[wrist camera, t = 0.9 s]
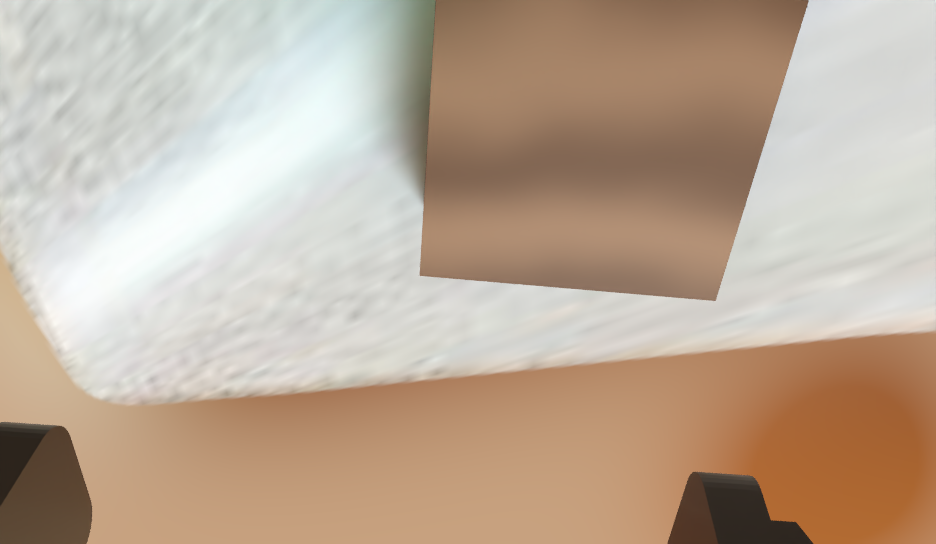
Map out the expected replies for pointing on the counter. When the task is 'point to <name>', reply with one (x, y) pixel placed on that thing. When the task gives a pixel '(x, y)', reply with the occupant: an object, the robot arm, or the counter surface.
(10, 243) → the counter surface
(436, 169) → the walnut stand
